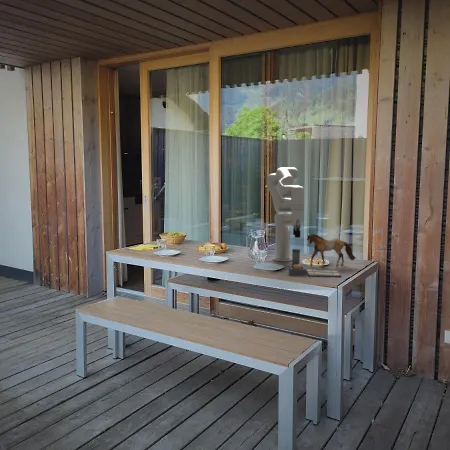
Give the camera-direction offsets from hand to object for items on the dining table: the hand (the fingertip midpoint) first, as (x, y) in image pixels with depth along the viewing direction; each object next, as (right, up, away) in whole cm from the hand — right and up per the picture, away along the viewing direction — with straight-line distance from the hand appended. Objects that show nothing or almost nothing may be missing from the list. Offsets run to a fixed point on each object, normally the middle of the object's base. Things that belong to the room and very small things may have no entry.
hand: (296, 236), depth 277 cm
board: (+14, -21, -8) cm, 27 cm away
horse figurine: (+22, -20, +8) cm, 30 cm away
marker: (0, -20, +3) cm, 20 cm away
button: (-1, -19, -8) cm, 21 cm away
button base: (-1, -21, -8) cm, 23 cm away
